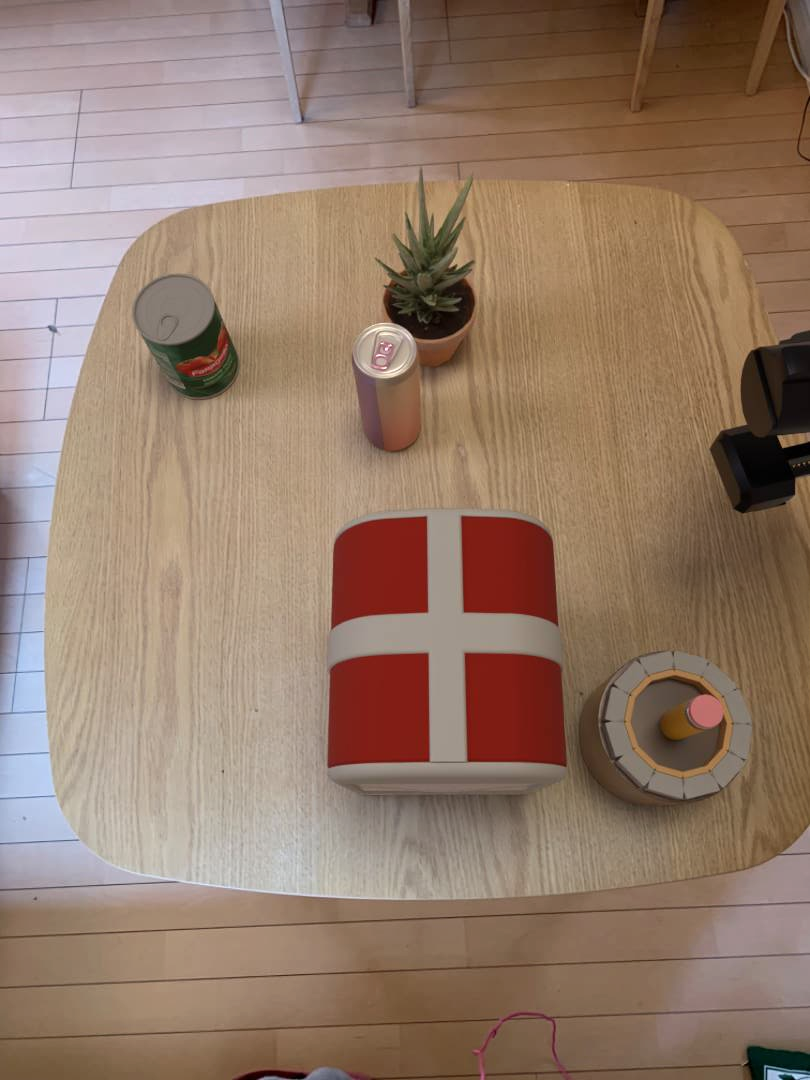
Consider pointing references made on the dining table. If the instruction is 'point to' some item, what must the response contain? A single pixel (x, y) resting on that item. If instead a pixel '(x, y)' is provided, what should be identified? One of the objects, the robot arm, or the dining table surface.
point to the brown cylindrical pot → (645, 738)
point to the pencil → (691, 717)
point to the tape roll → (709, 682)
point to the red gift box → (445, 655)
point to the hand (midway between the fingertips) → (798, 487)
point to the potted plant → (431, 285)
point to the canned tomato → (186, 335)
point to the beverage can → (388, 385)
